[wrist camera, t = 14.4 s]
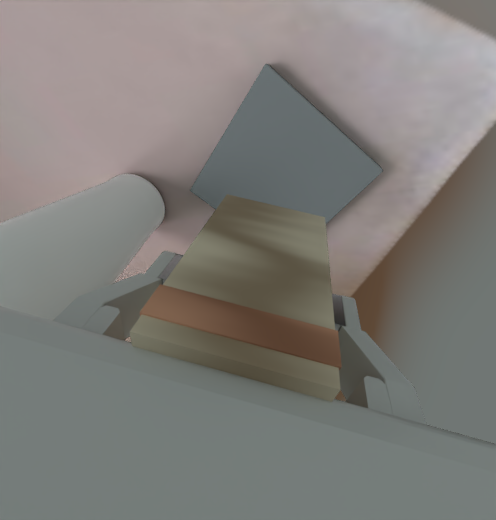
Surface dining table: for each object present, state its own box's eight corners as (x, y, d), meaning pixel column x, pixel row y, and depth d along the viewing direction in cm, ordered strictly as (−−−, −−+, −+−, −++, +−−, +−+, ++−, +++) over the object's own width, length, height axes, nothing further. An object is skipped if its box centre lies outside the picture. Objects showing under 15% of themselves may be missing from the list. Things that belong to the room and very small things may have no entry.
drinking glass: (187, 195, 23) (50, 335, 11) (158, 246, 27) (33, 391, 15) (115, 145, 21) (-135, 240, 9) (95, 206, 25) (-100, 329, 13)
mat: (194, 186, 22) (189, 190, 21) (267, 64, 17) (265, 63, 16) (287, 254, 24) (286, 260, 23) (380, 166, 19) (383, 170, 18)
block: (216, 271, 15) (142, 423, 8) (226, 192, 12) (127, 329, 6) (298, 291, 14) (287, 466, 8) (326, 216, 12) (344, 389, 5)
